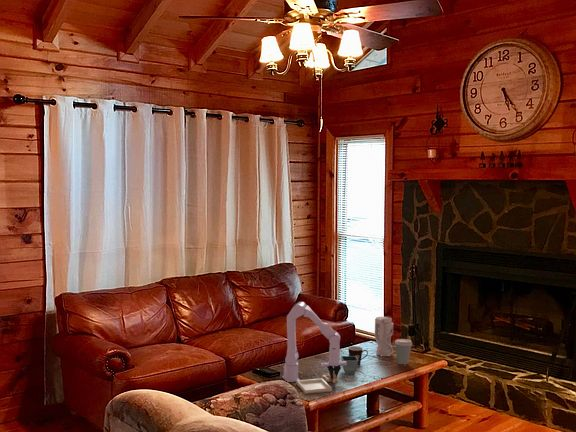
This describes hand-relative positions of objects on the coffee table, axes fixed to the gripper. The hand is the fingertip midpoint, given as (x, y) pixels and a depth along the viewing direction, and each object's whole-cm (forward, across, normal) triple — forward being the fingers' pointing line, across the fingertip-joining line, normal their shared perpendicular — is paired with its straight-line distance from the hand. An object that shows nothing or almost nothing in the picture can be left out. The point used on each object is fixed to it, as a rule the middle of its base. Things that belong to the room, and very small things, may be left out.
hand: (333, 378), depth 341 cm
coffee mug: (+3, +26, +26) cm, 37 cm away
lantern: (+3, +50, +40) cm, 64 cm away
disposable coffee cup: (+3, +54, +21) cm, 58 cm away
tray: (+2, -13, -4) cm, 14 cm away
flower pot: (+3, +15, +13) cm, 20 cm away
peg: (+2, 0, +5) cm, 6 cm away
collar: (+2, 0, +3) cm, 4 cm away
